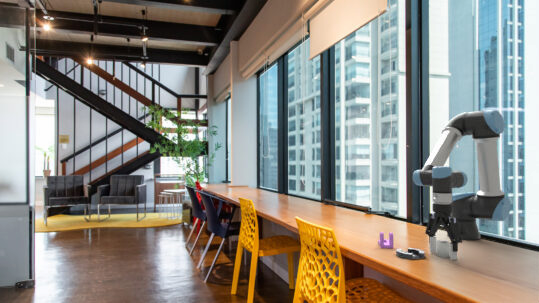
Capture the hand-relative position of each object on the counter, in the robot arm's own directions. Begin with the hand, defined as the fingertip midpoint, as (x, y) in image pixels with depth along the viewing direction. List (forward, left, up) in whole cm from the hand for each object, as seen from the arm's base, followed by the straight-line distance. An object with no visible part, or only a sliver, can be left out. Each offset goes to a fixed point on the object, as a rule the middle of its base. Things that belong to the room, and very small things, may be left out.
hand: (442, 255), depth 147 cm
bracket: (+12, -24, -1) cm, 27 cm away
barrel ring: (+13, -4, 0) cm, 14 cm away
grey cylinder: (0, 0, 0) cm, 0 cm away
